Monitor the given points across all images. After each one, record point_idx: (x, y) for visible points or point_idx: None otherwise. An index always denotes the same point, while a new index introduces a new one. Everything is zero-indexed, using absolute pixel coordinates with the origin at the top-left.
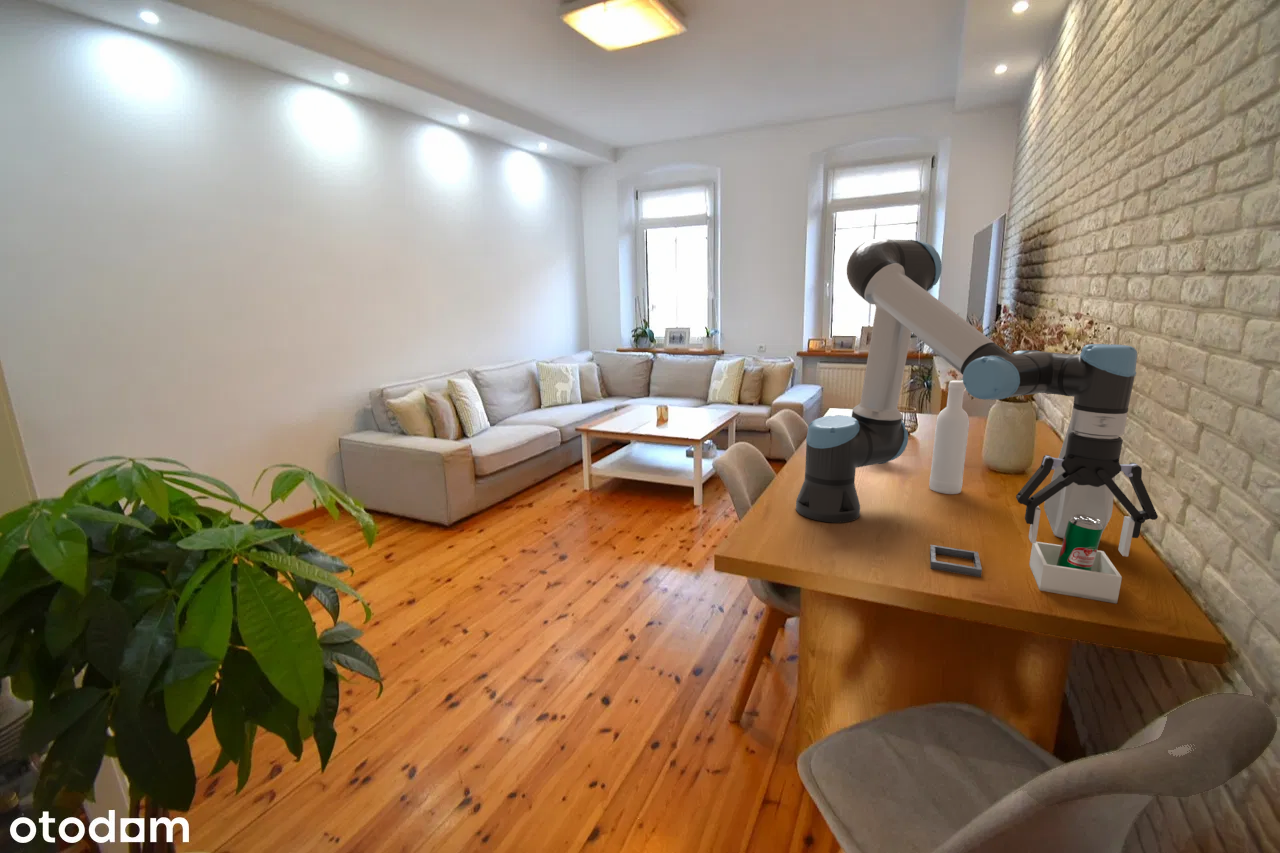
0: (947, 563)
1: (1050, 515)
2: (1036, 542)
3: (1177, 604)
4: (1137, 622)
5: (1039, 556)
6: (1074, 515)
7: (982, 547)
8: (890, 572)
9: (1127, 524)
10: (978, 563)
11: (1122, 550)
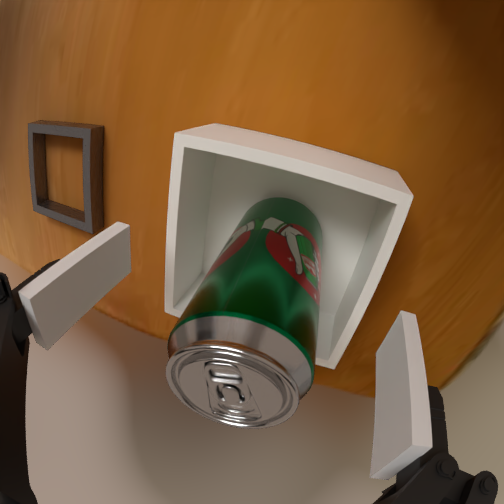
0: (49, 214)
1: None
2: (182, 144)
3: (470, 308)
4: (330, 371)
5: (166, 260)
6: (179, 357)
7: (129, 39)
8: (16, 230)
9: (378, 452)
10: (87, 201)
11: (380, 356)
